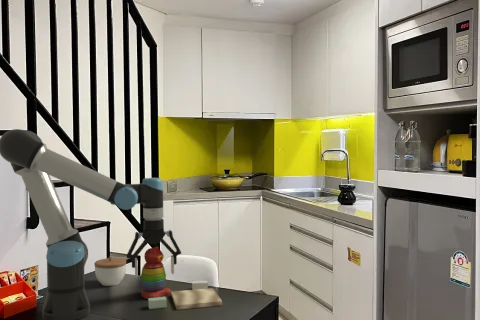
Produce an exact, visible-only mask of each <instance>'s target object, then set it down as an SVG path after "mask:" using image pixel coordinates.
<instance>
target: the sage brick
mask: <svg viewBox="0 0 480 320" xmlns="http://www.w3.org/2000/svg"><path fill="white" fill-rule="evenodd" d="M147 304H148V309H149V310H154V309H161V308H162V309H163V308H167V307H168V299H167V297H166V296H161V297H157V298H148V299H147Z"/></svg>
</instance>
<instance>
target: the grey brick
mask: <svg viewBox="0 0 480 320" xmlns="http://www.w3.org/2000/svg"><path fill="white" fill-rule="evenodd" d="M207 288H209V282H208V280H194V281H193V280H192V281H191V290H195V289H207Z"/></svg>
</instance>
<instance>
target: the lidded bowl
mask: <svg viewBox="0 0 480 320" xmlns="http://www.w3.org/2000/svg"><path fill="white" fill-rule="evenodd" d="M126 269H127V260H126V259H125V258H122V257H113V256H108V257H107V258H101V259H98V260H96V261H95V262H94V272H95V277H96V279H97V281H98V282H99V283H100V284H101V285H102V286H105V287H110V286H111V287H112V286H117V285H120V283H121V281H122V280H123V279H124V278H125V275H126Z"/></svg>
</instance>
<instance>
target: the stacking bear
mask: <svg viewBox="0 0 480 320" xmlns="http://www.w3.org/2000/svg"><path fill="white" fill-rule="evenodd" d="M143 257H144V261H145V263H144V265H143V266H142V269H141V274H140V283H141V287H142V291H141V297H142V298H144V299H146V300H148V298H157V297H166V296H171V292H172V290H171V289H170V288H168V287H165V286H166V281H167V274H166V270H165V266H164V263H163V262H162V261H163V259H164V253H163V251H161V249H160V248H159V246H155V247H151V248H148V249H146V251H145V252H144V256H143Z"/></svg>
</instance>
